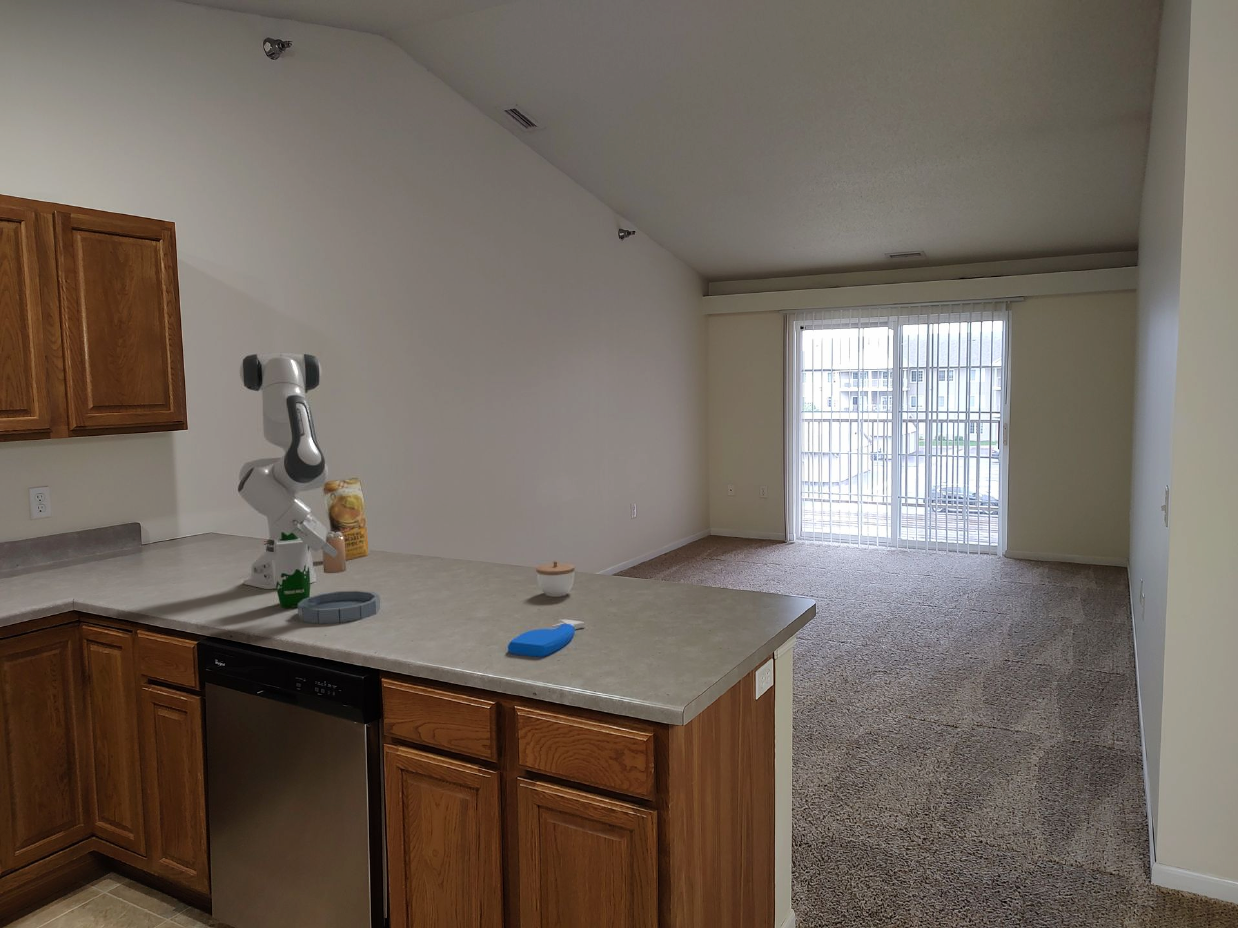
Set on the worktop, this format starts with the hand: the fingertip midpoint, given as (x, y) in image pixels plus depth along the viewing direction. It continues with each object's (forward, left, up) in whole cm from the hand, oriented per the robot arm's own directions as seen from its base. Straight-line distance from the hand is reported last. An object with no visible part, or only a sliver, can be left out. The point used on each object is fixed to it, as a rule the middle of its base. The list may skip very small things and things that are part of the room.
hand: (336, 552), depth 220 cm
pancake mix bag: (-53, +57, -16) cm, 79 cm away
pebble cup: (0, 0, -5) cm, 5 cm away
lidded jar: (+44, +38, -16) cm, 60 cm away
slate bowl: (0, 0, -16) cm, 16 cm away
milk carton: (-19, +2, -16) cm, 25 cm away
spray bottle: (+65, +1, -17) cm, 67 cm away
